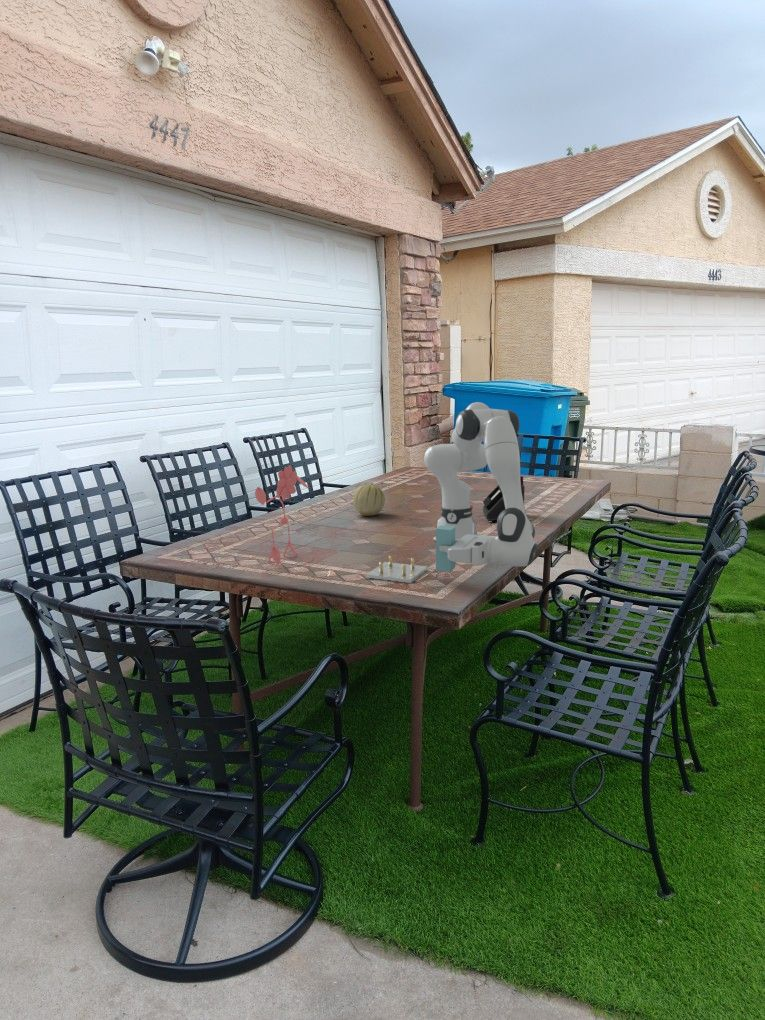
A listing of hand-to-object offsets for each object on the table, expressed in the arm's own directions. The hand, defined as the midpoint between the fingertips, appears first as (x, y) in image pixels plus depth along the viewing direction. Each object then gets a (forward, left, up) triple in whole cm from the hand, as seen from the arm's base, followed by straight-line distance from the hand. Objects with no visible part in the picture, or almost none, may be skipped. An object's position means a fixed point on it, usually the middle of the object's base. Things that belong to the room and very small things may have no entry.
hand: (443, 545), depth 237 cm
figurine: (-3, -59, -12) cm, 60 cm away
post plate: (-2, -17, -12) cm, 21 cm away
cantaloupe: (-81, -63, -12) cm, 103 cm away
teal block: (0, +1, -8) cm, 8 cm away
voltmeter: (-95, -4, -12) cm, 96 cm away
